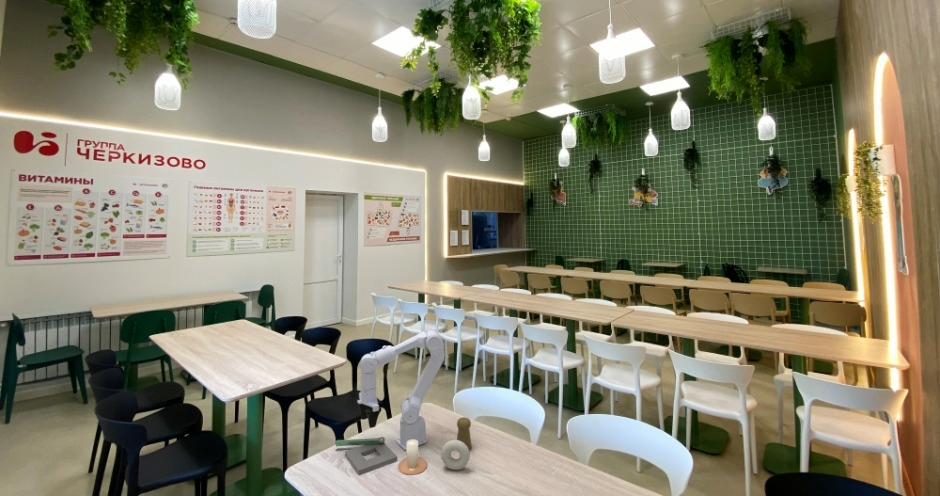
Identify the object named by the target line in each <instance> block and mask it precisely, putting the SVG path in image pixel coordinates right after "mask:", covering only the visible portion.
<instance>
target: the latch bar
mask: <svg viewBox="0 0 940 496" xmlns="http://www.w3.org/2000/svg"><path fill="white" fill-rule="evenodd" d="M385 440H386V438H385V437H384V436H380V437H374V438H372V437H371V438H354V439H337V440H336V441H335V447H348V446H363V445H371V444H379V445H382V444H384V443H385V442H386V441H385ZM385 444H386V443H385Z"/></svg>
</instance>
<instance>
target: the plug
mask: <svg viewBox="0 0 940 496" xmlns="http://www.w3.org/2000/svg"><path fill="white" fill-rule="evenodd" d="M418 457H419V445H418V440H415V439H411V440H408V441H407V450H406V458H407V467H408V468H416V467H417V466H418Z"/></svg>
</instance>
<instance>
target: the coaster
mask: <svg viewBox="0 0 940 496" xmlns="http://www.w3.org/2000/svg"><path fill="white" fill-rule="evenodd" d="M427 468H428V462H427V460H426V459H425V458H424V457H422V456H418V466H417V467H416V468H408V467H407V457H406V458H404V459H401V460H400V461H399V462H398V465H397V469H398V471H399V472H400V473H401V474H402V475H403V474H404V475H407V476H414V475H418V474H421V473H423V472H424V471H426V470H427Z"/></svg>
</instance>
